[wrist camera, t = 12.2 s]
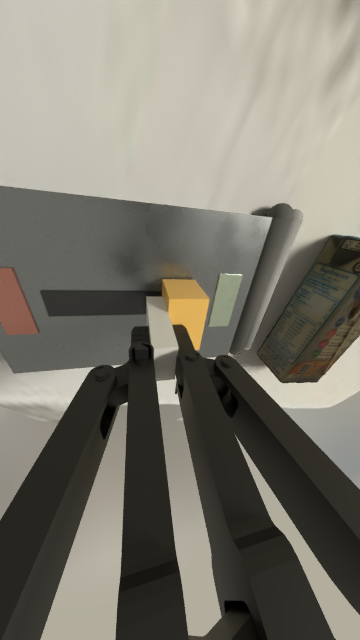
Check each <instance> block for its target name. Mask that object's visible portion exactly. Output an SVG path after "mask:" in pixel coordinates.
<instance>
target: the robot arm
mask: <svg viewBox="0 0 360 640" xmlns="http://www.w3.org/2000/svg"><path fill="white" fill-rule="evenodd" d="M146 323H147V326H135V327H134V328H133V329H132V331H131V346H130V348H129V360H128V361H127V363H125V364H124V365H122V366H119V367H116V368H113V367H112V366H110V365H100V366H97V367H95V368H93V369H92V370H91V371H90V372H89V373H88V375H87V377H86V378H85V380H84V382H83V383H82V385H81V387H80V388H79V390H78V392H77V393H76V395H75V397H74V398H73V400H72V402H71V403H70V405H69V407H68V408H67V410H66V412H65V413H64V415H63V417H62V418H61V420H60V422H59V423H58V425H57V427H56V428H55V430H54V432H53V433H52V435H51V437H50V439H49V440H48V442H47V443H46V445H45V447H44V448H43V450H42V452H41V453H40V455H39V457H38V458H37V460H36V462H35V463H34V465H33V467H32V469H31V470H30V472H29V474H28V475H27V477H26V478H25V480H24V482H23V483H22V485H21V487H20V489H19V490H18V492H17V493H16V495H15V497H14V499H13V500H12V502H11V503H10V505H9V507H8V509H7V510H6V512H5V514H4V515H3V517H2V519H1V520H0V640H40V639H41V635H42V633H43V630H44V627H45V624H46V621H47V618H48V615H49V612H50V609H51V606H52V603H53V600H54V597H55V594H56V592H57V589H58V586H59V583H60V580H61V577H62V574H63V571H64V568H65V565H66V562H67V559H68V556H69V553H70V550H71V547H72V545H73V542H74V539H75V535H76V533H77V530H78V527H79V524H80V521H81V518H82V515H83V512H84V509H85V506H86V503H87V500H88V498H89V495H90V492H91V489H92V486H93V483H94V480H95V477H96V474H97V471H98V468H99V465H100V462H101V459H102V457H103V453H104V451H105V448H106V445H107V442H108V439H109V436H110V433H111V430H112V427H113V424H114V421H115V418H116V415H117V412H118V410H119V407H120V405H122V404H124V403H126V402H128V410H127V434H126V460H125V484H124V509H123V535H122V558H121V559H122V560H121V577H120V585H119V594H118V608H117V623H116V640H336V639H335V638H334V636H333V634H332V632H331V630H330V628H329V625H328V623H327V621H326V619H325V617H324V614H323V612H322V610H321V608H320V605H319V603H318V601H317V599H316V597H315V595H314V592H313V590H312V588H311V586H310V584H309V581H308V579H307V577H306V575H305V573H304V570H303V568H302V566H301V564H300V561H299V559H298V557H297V555H296V553H295V552H294V549H293V547H292V546H291V544H290V542H289V541H288V540H287V538H286V536H285V535H284V534H283V533H282V532H281V531H280V530H279V529H278V528H277V527H276V526H275V525H274V523H273V522H272V520H271V518H270V516H269V514H268V512H267V509H266V507H265V505H264V502H263V500H262V498H261V495H260V493H259V491H258V488H257V486H256V483H255V481H254V479H253V476H252V474H251V472H250V469H249V467H248V465H247V462H246V460H245V458H244V455H243V453H242V450H241V448H240V446H239V443H238V441H237V439H236V437H237V438H238V440H239V441H240V443H241V444H242V446H243V447H244V449H245V450H246V452H247V453H248V455H249V456H250V458H251V459H252V461H253V462H254V464H255V465H256V467H257V468H258V470H259V471H260V473H261V474H262V476H263V478H264V479H265V481H266V482H267V484H268V485H269V487H270V488H271V490H272V491H273V493H274V494H275V495H276V497H277V499H278V500H279V502H280V503H281V505H282V506H283V508H284V509H285V511H286V512H287V514H288V515H289V517H290V519H291V520H292V521H293V523H294V524H295V526H296V528H297V529H298V531H299V532H300V534H301V535H302V536H303V538H304V540H305V541H306V543H307V544H308V546H309V547H310V549H311V551H312V552H313V553H314V555H315V557H316V558H317V559H318V561H319V562H320V564H321V565H322V567H323V568H324V570H325V571H326V572H327V574H328V575H329V577H330V578H331V580H332V581H333V582H334V584H335V585H336V586H337V587H338V589H339V590H340V591H341V593H342V594H343V595H344V596H345V598H346V599H347V600H348V601H349V603H350V604H351V605H352V606H353V608H354V609H355V610H356V611H357V612H358V613H359V615H360V490H359V489H358V487H357V486H356V485H354V483H353V482H352V481H351V480H350V479H349V478H348V477H347V476H346V475H345V474H344V473H343V472H342V471H341V470H340V469H339V468H338V467H337V466H336V465H335V464H334V462H332V460H330V458H329V457H328V456H327V455H326V454H325V453H324V452H323V451H322V450H321V449H320V448H319V447H318V446H317V445H316V444H315V443H314V442H313V441H312V439H311V438H310V437H309V436H308V435H307V434H306V433H305V432H304V431H303V430H302V429H301V428H300V427H299V426H298V425H297V424H296V423H295V422H294V421H293V420H292V419H291V418H290V417H289V415H287V413H286V412H285V411H284V410H283V409H282V408H281V407H280V406H279V405H278V404H277V403H276V402H275V401H274V400H273V399H272V398H271V397H270V396H269V395H268V394H267V393H266V391H265V390H264V389H263V388H262V387H261V386H260V385H259V384H258V383H257V382H256V381H255V380H254V379H253V378H252V377H251V376H250V375H249V374H248V373H247V372H246V371H245V370H244V369H243V367H242V366H241V365H240V364H239V363H238V362H237V361H236V360H235V359H233V358H232V357H230V356H228V355H219V356H217V357H216V359H215V360H213V359H207V358H204V357H202V356H201V355H200V353H199V352H197V351H195V348H194V346H193V343H192V341H191V338H190V336H189V334H188V331H187V328H186V327H185V326H183V325H182V324H177V325H172V323H171V320H170V316H169V313H168V309H167V306H166V303H165V299H164V297H146ZM175 375H176V379H177V381H176V389H175V394H177V393H178V397H179V402H180V407H181V411H182V416H183V421H184V425H185V430H186V434H187V439H188V443H189V448H190V453H191V458H192V462H193V467H194V472H195V476H196V480H197V486H198V490H199V495H200V500H201V504H202V509H203V514H204V518H205V523H206V527H207V532H208V537H209V542H210V547H211V553H212V568H213V576H214V581H215V586H216V591H217V596H218V601H219V606H220V611H221V615H222V618H221V619H220V620H219V621H218V622H217V623H216V625H215V626H214V627H213V628H212V629H211V630H210V631H209V633H208V634H207V635H205V636H203V637H199V636H190V635H189V636H188V631H187V623H186V614H185V607H184V598H183V591H182V584H181V577H180V571H179V566H178V562H177V556H176V550H175V542H174V534H173V524H172V516H171V507H170V499H169V489H168V481H167V473H166V463H165V454H164V446H163V438H162V429H161V419H160V411H159V402H158V393H157V384H156V381H161V380H170V379H175ZM234 433H235V434H234ZM235 435H236V436H235Z"/></svg>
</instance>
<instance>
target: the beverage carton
mask: <svg viewBox="0 0 360 640" xmlns="http://www.w3.org/2000/svg"><path fill="white" fill-rule="evenodd" d="M359 335H360V238H358V237H354V236H343V235H332V236H331V237H330V239H329V241H328V242H327V244H326V245H325V247H324V248H323V250H322V252H321V253H320V255H319V257H318V258H317V260H316V261H315V263H314V264H313V266H312V267H311V269H310V270H309V272H308V273H307V275H306V276H305V278H304V280H303V281H302V283H301V285H300V286H299V288H298V289H297V291H296V293H295V294H294V296H293V298H292V299H291V301H290V302H289V304H288V305H287V307H286V309H285V310H284V312H283V314H282V315H281V317H280V319H279V320H278V322H277V324H276V325H275V327H274V328H273V330H272V331H271V333H270V335H269V336H268V338H267V340H266V341H265V343H264V344H263V346H262V347H261V349H260V350H259V352H258V353H257V355H258V356H259V357H260V359H261V360H262V361H263V362H264V363H265V364H266V366H267V367H268V368H269V369H270V370H271V372H272V373H273V374H274V375H275V376H276V377H277V378H278V380H279V381H280V382H281V383H290V382H291V383H294V382H296V383H304V382H318V380H319V379H320V378H321V377H322V376H323V375H324V374H326V372H327V371H328V370H329V369H330V368H331V366H332V365H333V364H334V363H335V362H336V361H337V360H338V359H339V358H340V356H341V355H342V354H343V353H344V352H345V351H346V350H347V349H348V348H349V347H350V345H351V344H352V343H353V342H354V341H355V340H356V339H357V338H358V337H359Z"/></svg>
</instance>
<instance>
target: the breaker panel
mask: <svg viewBox="0 0 360 640" xmlns="http://www.w3.org/2000/svg"><path fill="white" fill-rule="evenodd" d="M272 218H273V217H264V216H256V215H247V214H238V213H230V212H221V211H212V210H204V209H195V208H187V207H178V206H169V205H161V204H152V203H143V202H135V201H126V200H117V199H109V198H100V197H92V196H83V195H74V194H66V193H57V192H48V191H40V190H31V189H22V188H14V187H5V186H0V351H1V353H2V354H3V356H4V358H5V359H6V361H7V363H8V364H9V366H10V368H11V369H12V371H13V373H25V372H37V371H49V370H61V369H74V368H86V367H97V366H100V365H122V364H125V363H127V361H128V360H129V348H130V346H131V331H132V329H133V328H134V327H135V326H147V323H146V297H162V279H184V280H196V282H197V283H198V284H199V286H200V287H201V288H202V290H203V291H204V292H205V293H206V295H207V296H208V297H209V299H210V300H209V305H208V310H207V315H206V320H205V324H204V329H203V334H202V339H201V344H200V349H199V350H195V351H197V352H199V353H200V355H201V356H202V357H204V358H208V357H217V356H219V355H228V353H229V350H230V347H231V344H232V340H233V337H234V334H235V331H236V328H237V325H238V322H239V319H240V316H241V313H242V310H243V307H244V304H245V301H246V298H247V295H248V291H249V288H250V285H251V282H252V279H253V276H254V273H255V270H256V267H257V264H258V261H259V258H260V255H261V252H262V249H263V245H264V242H265V239H266V236H267V233H268V230H269V227H270V224H271V221H272Z"/></svg>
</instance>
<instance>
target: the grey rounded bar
mask: <svg viewBox="0 0 360 640" xmlns="http://www.w3.org/2000/svg"><path fill="white" fill-rule="evenodd" d="M266 217H273V218H272V221H271V224H270V227H269V230H268V233H267V236H266V239H265V242H264V245H263V249H262V252H261V255H260V258H259V261H258V264H257V267H256V270H255V273H254V276H253V279H252V282H251V285H250V288H249V291H248V295H247V298H246V301H245V304H244V307H243V310H242V313H241V316H240V319H239V322H238V325H237V328H236V331H235V334H234V337H233V340H232V344H231V347H230V350H229V352H230V353H231V354H235V355H236V354H239V353H241V352H242V351H243V350H248V349H250V348H251V346H252V343H253V341H254V338H255V336H256V333H257V331H258V328H259V326H260V324H261V321H262V319H263V316H264V314H265V311H266V309H267V306H268V304H269V302H270V299H271V297H272V294H273V292H274V289H275V287H276V284H277V282H278V279H279V277H280V275H281V272H282V270H283V267H284V265H285V262H286V260H287V257H288V255H289V253H290V250H291V248H292V245H293V243H294V240H295V238H296V235H297V233H298V230H299V228H300V226H301V223H302V221H303V214H302V212H301V211H300V210H298V209H292V207H291V206H290V205H288V204H285V203H280V204H277V205H275V206H273V207H272V208H271V209H270V210H269V211H268V213H267V214H266Z"/></svg>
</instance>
